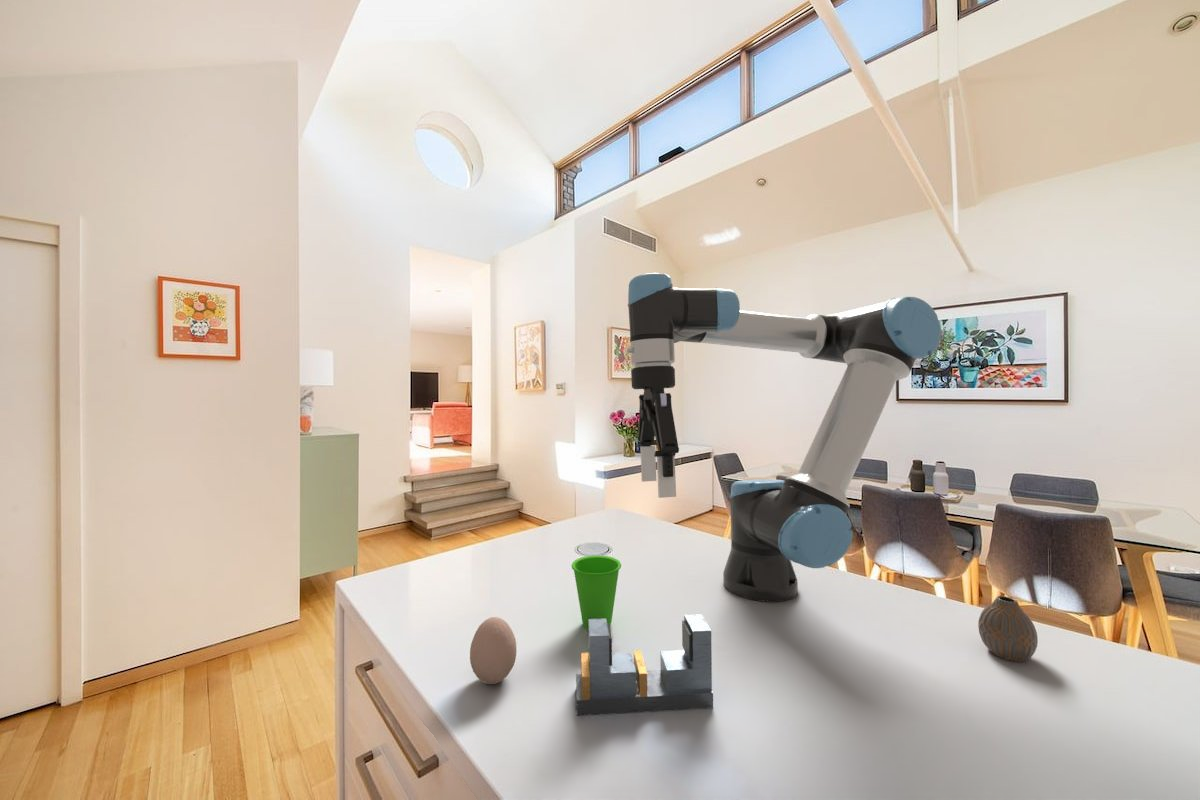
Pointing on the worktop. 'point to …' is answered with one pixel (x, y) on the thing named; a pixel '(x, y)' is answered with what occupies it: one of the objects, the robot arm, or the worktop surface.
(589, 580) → the cup
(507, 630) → the egg
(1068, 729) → the worktop surface
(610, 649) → the l-shaped step block
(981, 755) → the worktop surface
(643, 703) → the rail
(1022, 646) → the vase
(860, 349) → the robot arm
